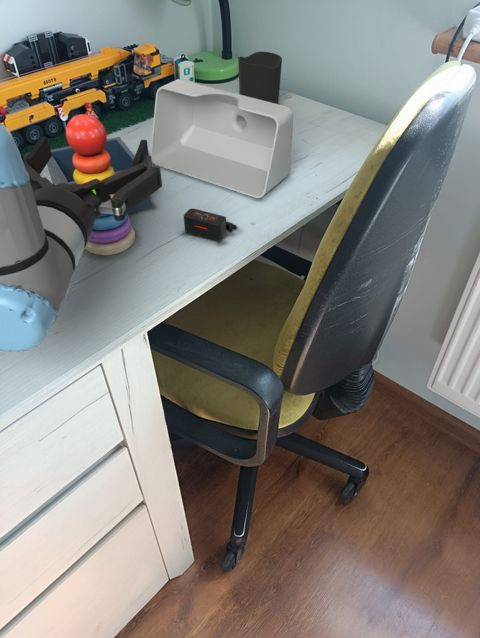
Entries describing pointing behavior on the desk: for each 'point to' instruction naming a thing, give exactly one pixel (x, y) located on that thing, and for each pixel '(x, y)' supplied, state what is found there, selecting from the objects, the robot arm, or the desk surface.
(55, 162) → the square holder
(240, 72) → the pen holder
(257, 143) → the light grey open box
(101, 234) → the stacking toy
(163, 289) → the desk surface
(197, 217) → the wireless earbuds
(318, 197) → the desk surface
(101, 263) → the desk surface
